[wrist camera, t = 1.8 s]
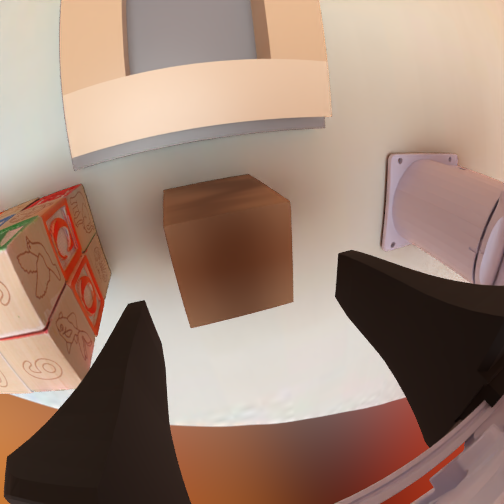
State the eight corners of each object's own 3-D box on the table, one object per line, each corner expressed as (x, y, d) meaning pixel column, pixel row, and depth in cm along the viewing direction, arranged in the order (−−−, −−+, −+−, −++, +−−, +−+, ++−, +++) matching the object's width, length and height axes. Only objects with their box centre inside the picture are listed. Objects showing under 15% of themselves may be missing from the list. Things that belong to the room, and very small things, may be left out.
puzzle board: (291, -54, 9) (313, -74, 7) (315, 126, 16) (344, 130, 13) (70, -34, 6) (57, -56, 4) (80, 167, 13) (61, 178, 10)
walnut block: (248, 174, 16) (290, 201, 11) (256, 249, 19) (293, 301, 14) (163, 189, 15) (163, 226, 10) (180, 266, 18) (190, 328, 12)
